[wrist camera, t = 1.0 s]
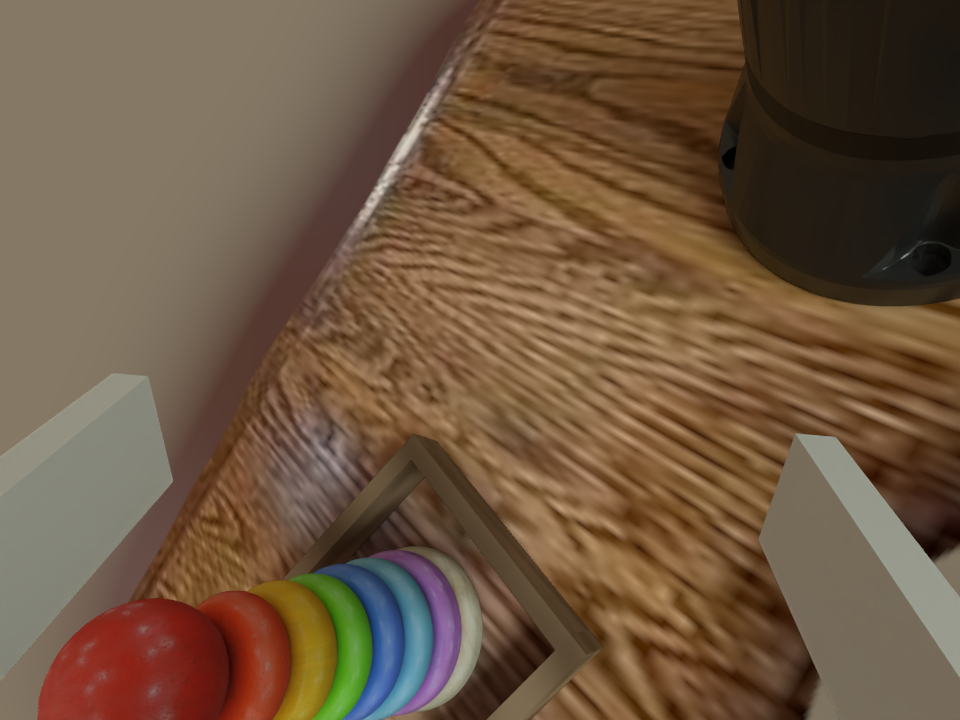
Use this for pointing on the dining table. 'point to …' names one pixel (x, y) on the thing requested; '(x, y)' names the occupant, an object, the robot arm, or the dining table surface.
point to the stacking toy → (280, 648)
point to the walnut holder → (494, 544)
